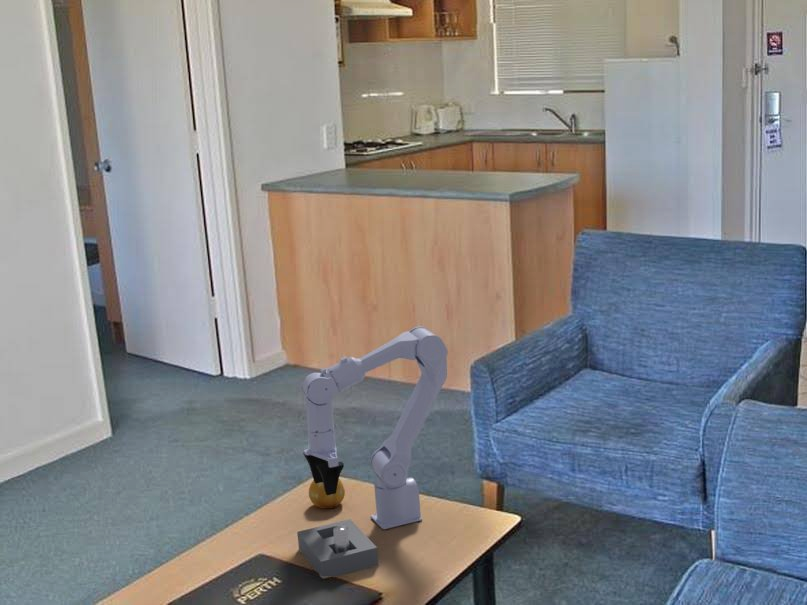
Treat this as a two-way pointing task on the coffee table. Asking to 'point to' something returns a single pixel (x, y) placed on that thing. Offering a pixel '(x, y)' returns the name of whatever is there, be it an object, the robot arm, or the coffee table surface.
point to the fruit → (321, 498)
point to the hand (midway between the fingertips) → (325, 488)
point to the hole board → (322, 550)
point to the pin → (341, 539)
